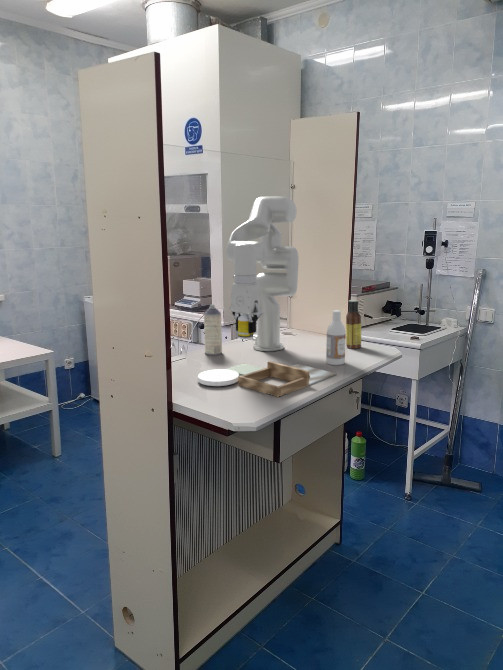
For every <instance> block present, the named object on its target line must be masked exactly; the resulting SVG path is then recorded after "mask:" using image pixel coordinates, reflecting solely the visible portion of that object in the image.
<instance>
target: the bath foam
mask: <svg viewBox="0 0 503 670" xmlns="http://www.w3.org/2000/svg"><path fill="white" fill-rule="evenodd" d="M341 316H342V311H341V310H338V309H335V310H332V320H331V322H330V324H329V325H328V327H327V330H326V349H325V350H326V351H325V353H326V354H325V362H326V364H328V365H330V366H342V365H344V364H345V361H346V327H345V325H344V324H343V322H342V321H341V319H342V317H341Z"/></svg>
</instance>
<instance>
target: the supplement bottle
mask: <svg viewBox="0 0 503 670" xmlns="http://www.w3.org/2000/svg"><path fill="white" fill-rule="evenodd" d="M240 315H241V316H240V317H239V318H238V331H237V338H238V339H241V340H251V339H252V338H253V336H254V335H255V333H251V334H250V333H249V331H248V323H249V322H250V320H249V316H248V314H243V313H240Z"/></svg>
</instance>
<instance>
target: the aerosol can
mask: <svg viewBox="0 0 503 670" xmlns="http://www.w3.org/2000/svg"><path fill="white" fill-rule="evenodd" d="M215 306H216V305H215V304H209V308H208V309H207V310H206V311H204V314H203V319H204V320H203V325H204V327H203V329H204V354H205V355H206V356H213V357H214V356H221V355H222V354H223V338H222V337H223V336H222V335H223V334H222V332H223V331H222V313H221V311H219V309H217V308H216V307H215Z"/></svg>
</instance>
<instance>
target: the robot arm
mask: <svg viewBox="0 0 503 670" xmlns="http://www.w3.org/2000/svg"><path fill="white" fill-rule="evenodd" d="M296 217H297V206H296V204H295V201H293V200H292V199H291V198H289V197H288V196H283V195H281V196H280V195H279V196H277V195H273V196H270V195H269V196H259V197H257V198H255V200H254V202H253V203H252V207H251V210H250V213H249V217H248V219H247V221H245V222H243V223H242V224H241V225H239V226H238V227H236V228H235V229H234V230H233V231H232V232H231V234H230V236H229V239H228V242H227V244H226V249H225V251H226V252H225V254H226V258H227V260H228V261H229V262H231V263H233V283H232V286H231V293H230V306H229V310H230V312H231V313H232V316H233V317H234V320H235V331H236V332H238V318H239V317H240V316H241V315H240V313H243V314H248V316H249V320H250V322H249V323H248V331H249V333H250V334H251V333H254V336H253V338H252V339H250V340H251V341H253V342H255V343H254V344H253V349H254V350H256V351H260V352H277V351H280V350H283V349H284V344H283V343H282V342H281V326H280V325H281V319H280V318H281V315H280V313H281V310H280V309H281V308H280V304H279V302H278V300H277V299H276V298H275V297H293V296H295V295H296V293H297V290H298V281H299V280H298V277H299V263H300V262H299V252H298V250H297V248H296V247H295V246H290V245H289V246H288V245H283V246H282V233H281V231H280V230H279V228H278V227H277V226H276V223H277V224H278V223H286V224H287V223H288V224H289V223H292V222H294V221H295V219H296ZM274 223H275V224H274ZM259 238H260V241H259V240H258V241H256V239H259ZM253 240H254V241H253ZM257 264H259V265H260V267H261V268H262V269H264V270H271V271H269V272H267V271H265V272H264V271H263V272H260V273H258V274H257ZM272 270H278V271H279V270H282V271H286V272H275V271H273V272H272ZM255 333H256V334H255Z"/></svg>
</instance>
